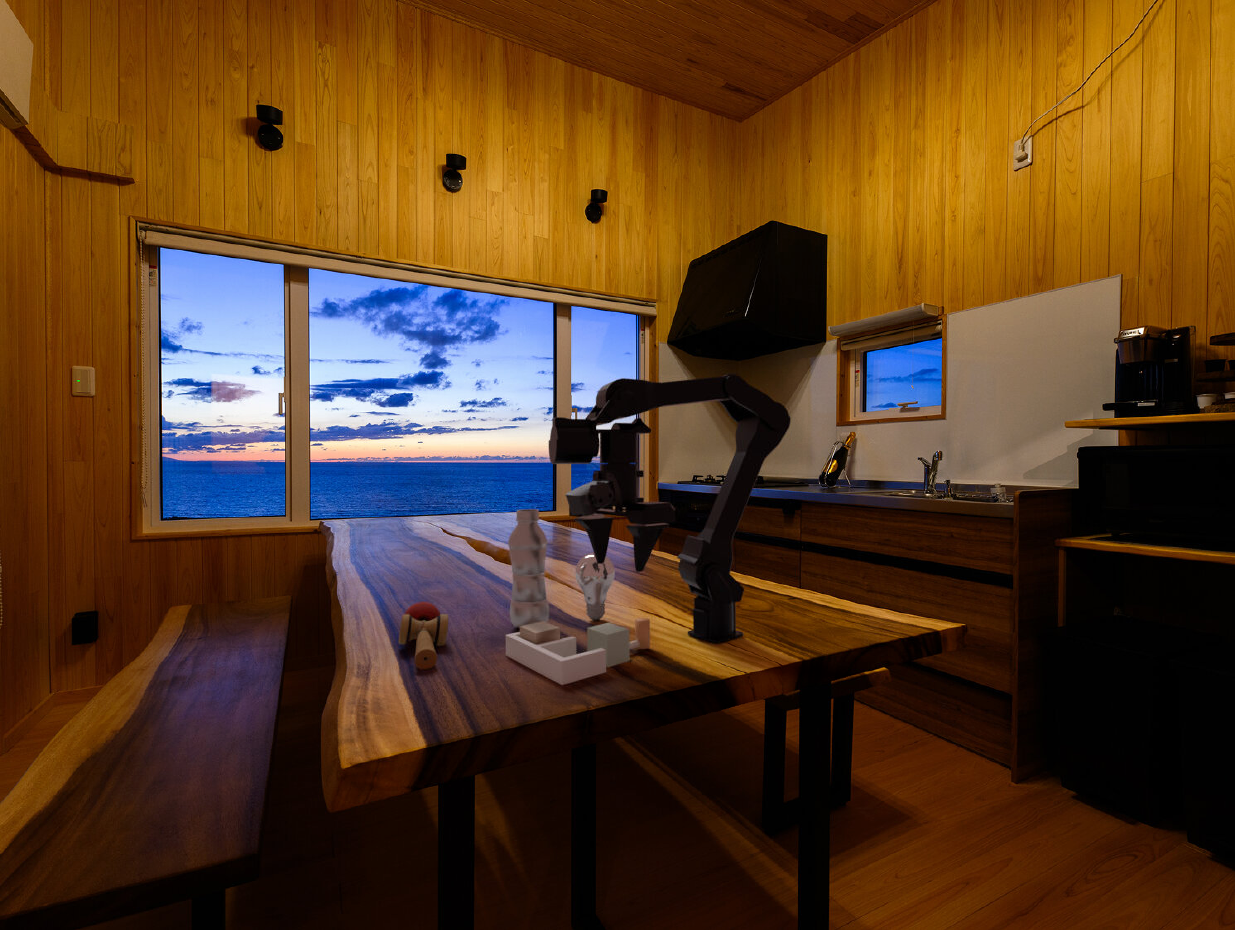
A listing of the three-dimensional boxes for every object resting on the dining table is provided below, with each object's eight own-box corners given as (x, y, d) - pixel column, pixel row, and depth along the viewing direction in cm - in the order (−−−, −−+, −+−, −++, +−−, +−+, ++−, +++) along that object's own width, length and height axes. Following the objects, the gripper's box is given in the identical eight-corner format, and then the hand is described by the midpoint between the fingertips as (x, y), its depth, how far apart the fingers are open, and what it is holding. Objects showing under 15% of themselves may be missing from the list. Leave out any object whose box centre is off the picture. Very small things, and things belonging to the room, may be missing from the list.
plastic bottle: (542, 633, 97) (540, 511, 97) (503, 631, 98) (501, 511, 98) (554, 622, 103) (552, 508, 103) (517, 621, 105) (516, 508, 104)
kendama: (460, 673, 83) (449, 623, 100) (452, 632, 82) (442, 588, 98) (403, 691, 81) (401, 637, 97) (393, 649, 79) (393, 601, 96)
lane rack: (546, 645, 91) (546, 625, 91) (606, 672, 79) (605, 649, 79) (505, 655, 86) (505, 634, 86) (561, 685, 75) (561, 661, 75)
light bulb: (592, 613, 109) (591, 548, 109) (623, 618, 105) (622, 551, 105) (567, 622, 104) (566, 553, 104) (599, 628, 100) (598, 557, 99)
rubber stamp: (638, 644, 91) (637, 615, 91) (658, 651, 87) (658, 621, 87) (587, 659, 84) (587, 627, 84) (607, 667, 81) (607, 634, 81)
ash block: (543, 651, 88) (543, 621, 88) (560, 658, 85) (559, 627, 85) (520, 657, 86) (519, 626, 86) (536, 665, 82) (535, 633, 82)
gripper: (540, 464, 91) (540, 565, 91) (616, 464, 77) (616, 584, 77) (597, 463, 98) (598, 557, 98) (677, 463, 84) (677, 573, 84)
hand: (619, 567), depth 89 cm, fingers open, 9 cm apart
